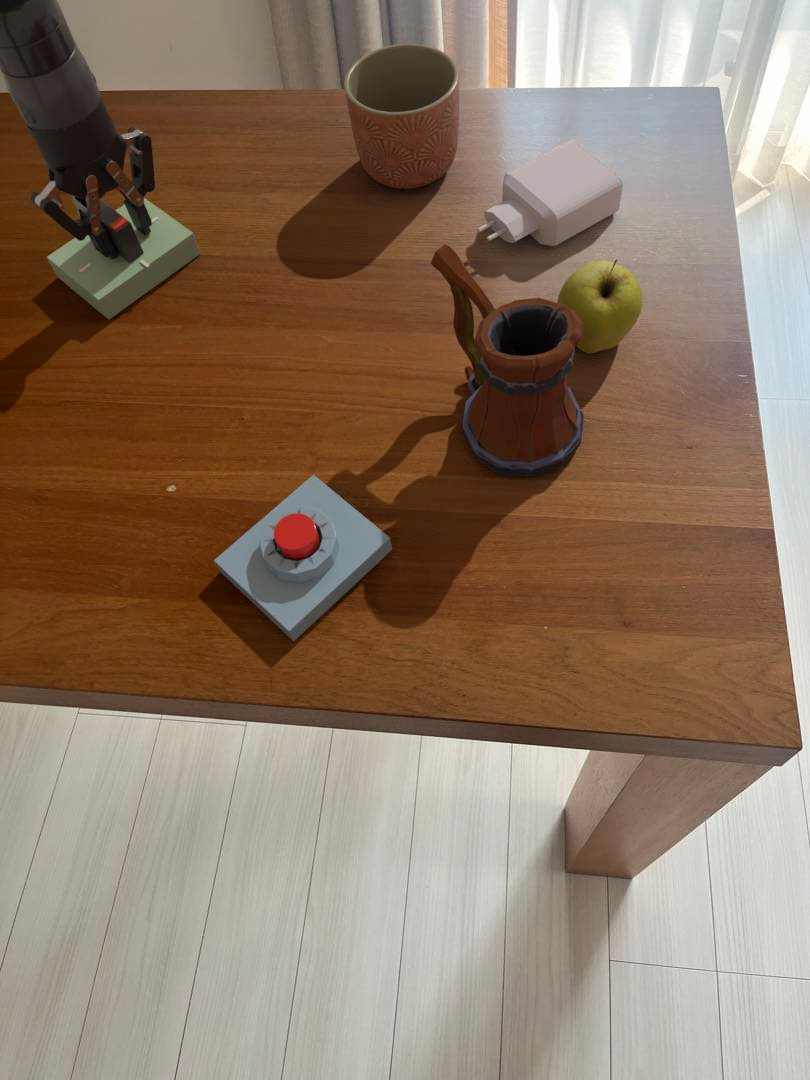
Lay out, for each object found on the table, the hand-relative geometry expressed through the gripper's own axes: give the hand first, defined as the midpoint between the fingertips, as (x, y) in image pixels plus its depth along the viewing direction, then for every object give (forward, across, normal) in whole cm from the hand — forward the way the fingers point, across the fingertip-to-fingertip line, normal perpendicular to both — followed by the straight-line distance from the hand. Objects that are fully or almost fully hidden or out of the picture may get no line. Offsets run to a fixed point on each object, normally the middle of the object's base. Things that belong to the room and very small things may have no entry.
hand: (126, 242), depth 97 cm
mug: (+4, -11, +44) cm, 46 cm away
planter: (+4, -31, +12) cm, 34 cm away
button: (-1, +13, +43) cm, 44 cm away
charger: (+4, -33, +30) cm, 45 cm away
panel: (+3, +1, 0) cm, 3 cm away
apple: (+4, -24, +46) cm, 52 cm away
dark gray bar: (0, +1, 0) cm, 1 cm away
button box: (+3, +13, +42) cm, 44 cm away
